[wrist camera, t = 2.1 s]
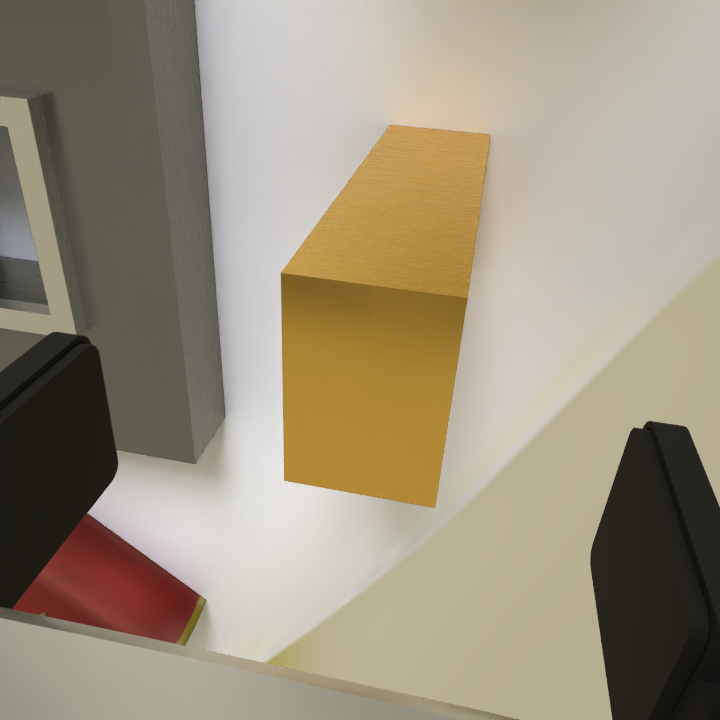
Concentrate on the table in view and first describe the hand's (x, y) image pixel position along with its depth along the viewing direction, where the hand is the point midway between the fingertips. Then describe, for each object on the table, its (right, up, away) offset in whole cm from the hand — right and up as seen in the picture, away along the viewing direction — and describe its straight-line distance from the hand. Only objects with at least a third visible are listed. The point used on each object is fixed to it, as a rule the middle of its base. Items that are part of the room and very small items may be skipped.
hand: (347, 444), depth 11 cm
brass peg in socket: (+2, +6, +9) cm, 12 cm away
